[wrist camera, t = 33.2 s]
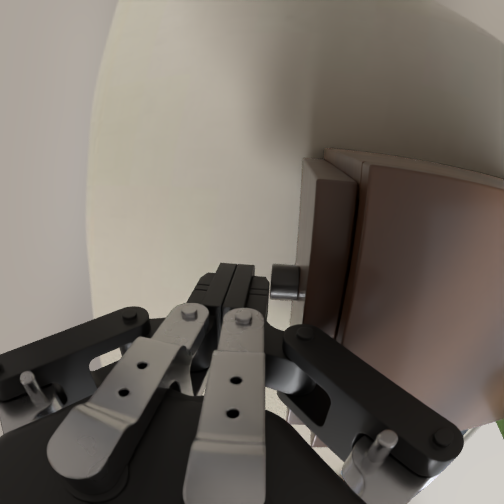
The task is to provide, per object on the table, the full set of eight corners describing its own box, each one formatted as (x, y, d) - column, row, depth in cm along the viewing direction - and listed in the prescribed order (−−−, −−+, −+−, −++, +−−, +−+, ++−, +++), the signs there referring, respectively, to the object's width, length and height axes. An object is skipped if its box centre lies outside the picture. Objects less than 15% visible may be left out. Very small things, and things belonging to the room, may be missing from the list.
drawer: (270, 324, 19) (258, 422, 12) (279, 156, 15) (271, 176, 8) (455, 327, 18) (500, 402, 10) (493, 186, 14) (578, 224, 6)
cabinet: (306, 326, 20) (310, 447, 11) (323, 147, 15) (369, 164, 7) (469, 326, 18) (523, 412, 10) (508, 180, 14) (608, 224, 5)
